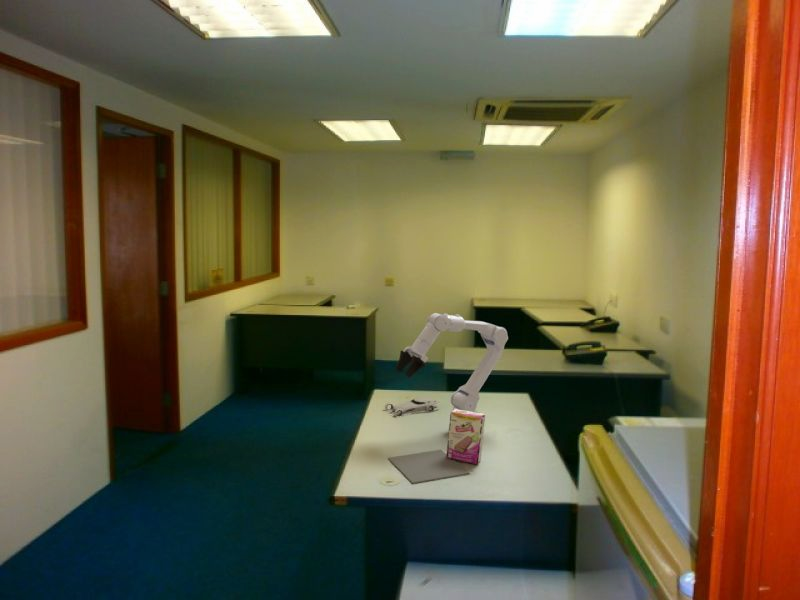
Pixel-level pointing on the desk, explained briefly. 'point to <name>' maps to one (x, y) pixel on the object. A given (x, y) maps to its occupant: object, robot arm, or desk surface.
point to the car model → (413, 407)
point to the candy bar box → (465, 436)
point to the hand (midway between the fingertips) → (402, 373)
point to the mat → (427, 466)
